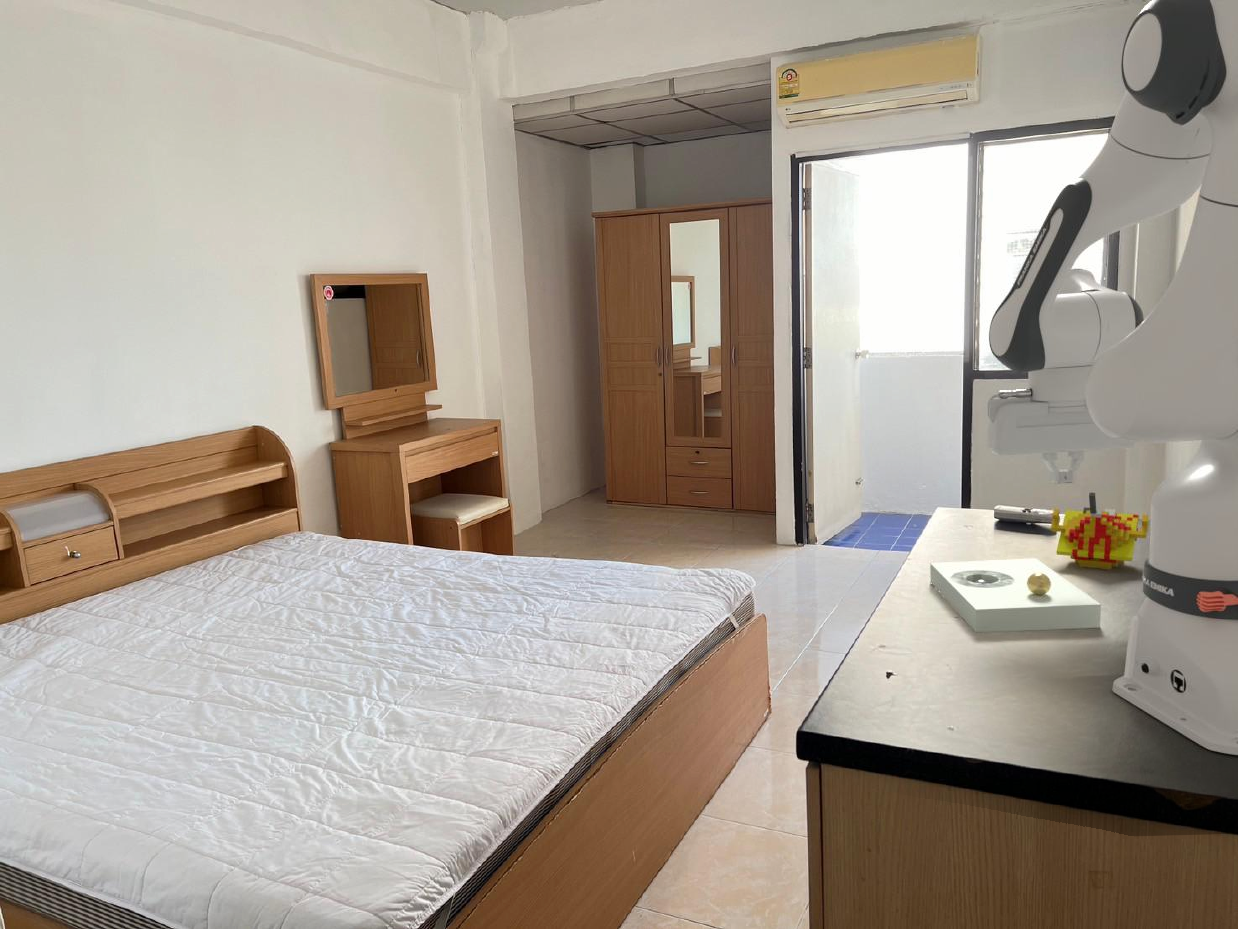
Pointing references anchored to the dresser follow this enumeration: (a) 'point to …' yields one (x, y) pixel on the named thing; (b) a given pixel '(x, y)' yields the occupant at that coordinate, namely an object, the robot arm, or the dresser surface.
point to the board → (1012, 596)
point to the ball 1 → (981, 581)
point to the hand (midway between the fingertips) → (1062, 482)
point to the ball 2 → (1039, 583)
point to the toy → (1098, 535)
